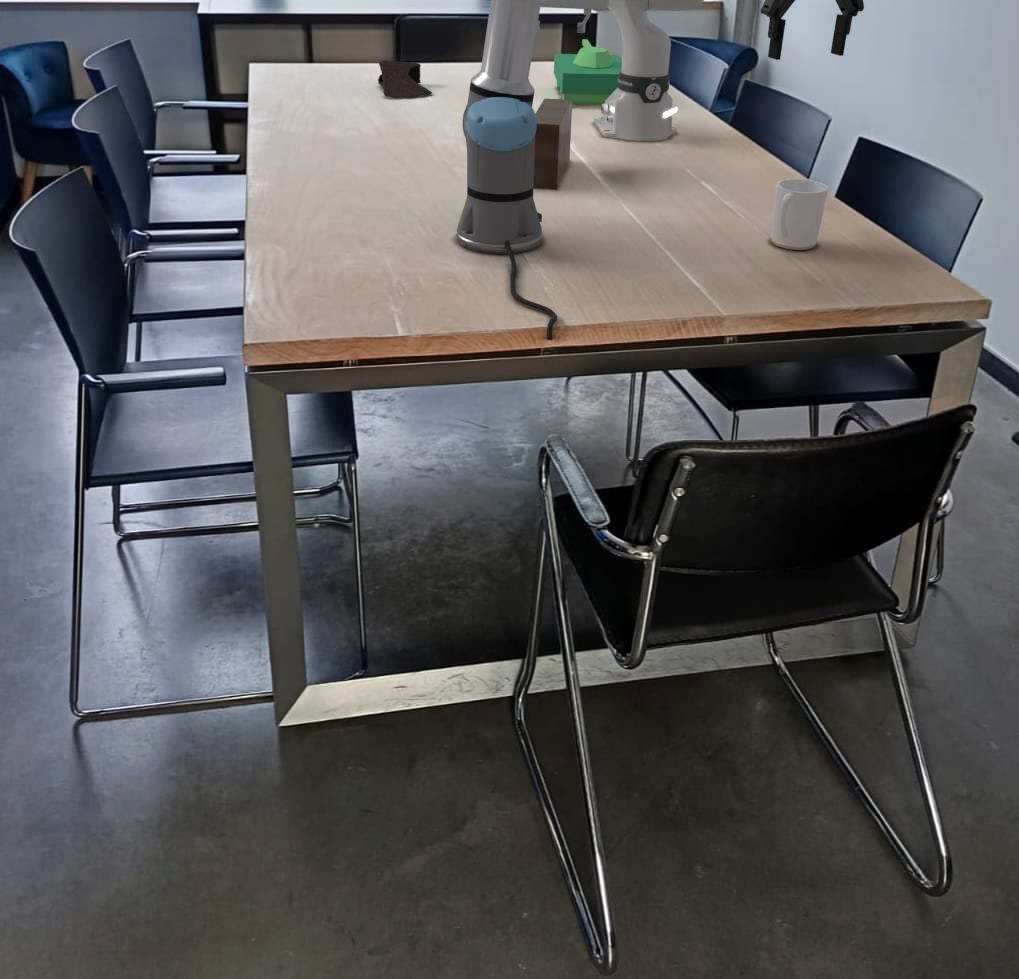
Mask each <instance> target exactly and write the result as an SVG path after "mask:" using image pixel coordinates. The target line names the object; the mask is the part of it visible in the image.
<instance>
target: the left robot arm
mask: <svg viewBox="0 0 1019 979" xmlns="http://www.w3.org/2000/svg"><path fill="white" fill-rule="evenodd" d="M795 1H796V0H764V2H763V4H762V6H761V7H760V14H762V15H765V16H766V17H767V18H769V22H768V29H767V38H768V39H769V44H768V45H769V46H768V52H767V53H768V54H767V58H770V59H773V60H775V61H779V60H781V56H782V50H783V42H784V35H785V29H786V22H787V19H784V18H783V17H784V16H785V15H786V13H787V12H788V11H789V9H790V8H791V6H792V5H793V4H794V3H795ZM835 3H836V5H837V6H838V9H839V11H840V13H841V14H836V18H835V25H834V30H833V36H832V41H831V48H830V54H832V55H836V56H840V57H843V56H844V55H845V54H844V53H845V47H846V41H847V36H848V35H850V33H851V27H852V22H853V18H855V17H857V16H858V14H859V12H860V13H861V12H863V11H864V9H865V4H864V0H835ZM540 6H541V0H490V6H489V12H488V19H487V26H486V33H485V40H484V47H483V53H482V59H481V67H480V70H479V71H478V73H476V74H475V75H474V76H472V77H471V78H470V84H469V89H468V95H467V96H468V97H467V102H466V103H467V104H466V105H465V109H464V111H463V115H462V131H463V136H464V138H465V145H466V192H467V193H466V198H465V202H464V205H463V209H462V211H461V214H460V218H459V220H458V224H457V228H456V241H457V243H458V244H459V245H461V246H462V247H464V248H466V249H468V250H470V251H475V252H479V253H486V254H497V255H499V254H500V255H506V254H507V255H508V258H509V262H510V265H511V272H510V276H509V282H510V283H509V290H510V294H511V296H512V297H513V298H514V300H516V301H517V302H519V303H520V304H522V305H524V306H527V307H530V308H533V309H536V310H539V311H541V312H544V313H545V314H547V315H549V316H550V320H549V321H548V323H547V327H546V340H547V341H552V340H553V328H554V325H555V323H556V322H557V321H558V315H557V314H556V312H555V311H554V310H552V308H549V307H548V306H545V305H543V304H540V303H537V302H534V301H531V300H528V299H526V298H524V297H522V296H521V295H519V294H518V293H517V290H516V275H517V262H516V259H515V255H514V254H517V253H524V252H527V251H530V250H533V249H536V248H538V247H539V246H540V245H541V244H542V243H543V229H542V224H541V223H542V222H543V214H542V213H540V212H538V210H537V206H536V204H535V199H534V188H533V186H534V152H535V133H536V128H537V125H536V121H535V113H536V112H535V110H534V108H533V104H534V97H535V92H536V90H535V88H534V85H532V84H531V82H530V80H529V76H530V72H531V65H532V58H533V52H534V49H535V48H534V47H535V42H536V34H537V31H536V30H537V24H538V21H539V17H540V12H541V7H540Z"/></svg>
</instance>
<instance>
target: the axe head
mask: <svg viewBox="0 0 1019 979" xmlns="http://www.w3.org/2000/svg"><path fill="white" fill-rule="evenodd" d="M378 66H379V68H380V72H381V74H379V75H378V79H377V84H378V85H379V86H380V87H381V88H382V89H383V95H384V96H385V97H388V98H394V99H395V98H396V99H403V98H405V99H406V98H407V99H411V98H418V97H425V96H429V95H432V94H433V91H431V90H430V89H428V88H427V87H425V86H422V85H421V84H422V82H421V63H419V62H410V61H408V62H407V61H397V60H388V59H387V60H380V61H379V62H378Z"/></svg>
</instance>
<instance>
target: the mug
mask: <svg viewBox="0 0 1019 979" xmlns="http://www.w3.org/2000/svg"><path fill="white" fill-rule="evenodd" d="M775 186H776V187H775V196H774V206H773V217H772V225H771V236H770V241H771V243H772V244H773V245H774V246H777V247H779V248H782V249H787V250H795V251H801V250H802V251H804V250H805V251H806V250H810V249H812V248H813V249H814V247H815V246H816V245H817V241H818V238H819V233H820V228H821V224H822V219H823V215H824V210H825V206H826V202H827V196H828V193H829V186H828V185H827V184H826V183H824V182H821V181H817V180H813V179H808V178H785V179H781V180H778V181H777V182H776V185H775Z"/></svg>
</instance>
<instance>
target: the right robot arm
mask: <svg viewBox="0 0 1019 979" xmlns="http://www.w3.org/2000/svg"><path fill="white" fill-rule="evenodd" d="M704 2H705V0H541V6H540V8H551V9H552V8H553V9H572V10H583V15H584V16H585V17H584V19H583V20H582V22H577V25H576V26H577V29H576V33H577V34H585V32H586V24H587V22H588V20H589V19H590V16H592V11H593V10H594V11H595V10H597V11H605V10H606V9H608V10H609V11H610V12H611V14H612V15H613V16H614V18H615V21H616V23H617V25H618V28H619V31H620V36H621V61H622V67H621V72H619V76H618V79H617V85H616V86H617V89H616V90H615V91H614V92H613V93H612V94H611V95H610V96H609V97H608V98H607V99H606V101H605V104H602V105H600V113H601V114H602V115H603V116H601V117H596V118H594V120H593V124H594V126H595V127H596V128H597V130H598V131H599V133H600V134H601V136H602V137H605V138H610V139H611V138H612V139H613V138H614V139H619V140H626V141H633V142H635V141H636V142H655V141H663V140H665V139H668V138H670V136H672V135H674V134H676V133H677V128H676V127H673V114H675V113H677V111H678V107H674V108H673V102H674V101H673V97H672V96H671V95H670V94H669V92H668V91H669V90H670V84H671V74H670V73H669V68H670V59H671V48H672V42H671V41H672V40H671V38H670V36H669V35H668V33H667V31H665V30H664V29H663V28H661V27H659V26H658V25H656V24H654V22H653V23H652V21H651V20H650V19H649V16H648V14H647V11H650V10H655V11H672V12H673V11H674V12H678V11H679V12H680V11H686V10H692V9H697V8H699V7H700V6H701V5H702V4H703V3H704ZM540 23H541V21H540V20H538V24H537V30H536V32H539V31H540V29H541V28H540V27H541V26H540Z"/></svg>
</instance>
